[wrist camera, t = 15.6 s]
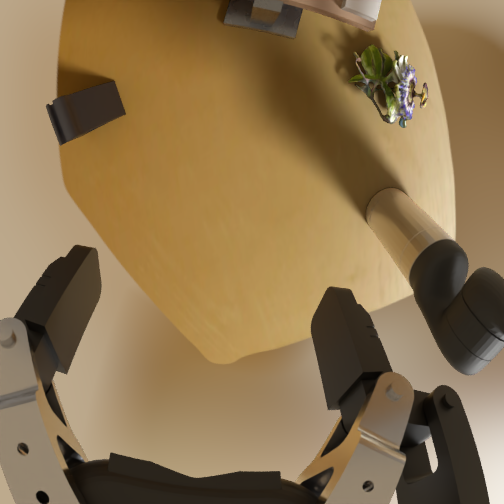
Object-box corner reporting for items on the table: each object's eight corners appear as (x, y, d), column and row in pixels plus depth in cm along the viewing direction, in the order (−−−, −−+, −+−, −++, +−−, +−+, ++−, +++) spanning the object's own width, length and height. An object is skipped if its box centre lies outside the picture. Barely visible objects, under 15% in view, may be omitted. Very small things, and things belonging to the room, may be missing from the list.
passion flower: (383, 88, 41) (422, 135, 36) (330, 91, 40) (368, 142, 35) (399, 37, 30) (450, 82, 26) (341, 33, 29) (392, 79, 25)
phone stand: (82, 135, 38) (41, 157, 28) (71, 104, 35) (27, 118, 25) (126, 114, 37) (91, 128, 27) (115, 80, 34) (76, 85, 24)
